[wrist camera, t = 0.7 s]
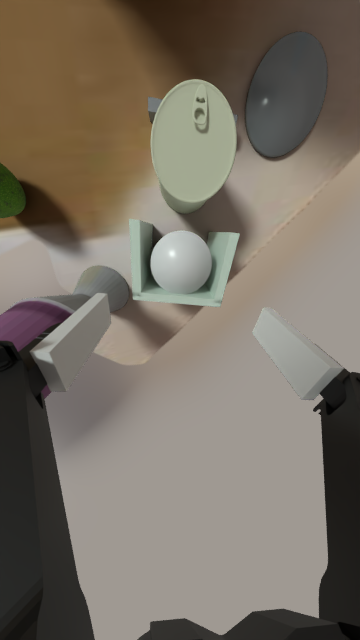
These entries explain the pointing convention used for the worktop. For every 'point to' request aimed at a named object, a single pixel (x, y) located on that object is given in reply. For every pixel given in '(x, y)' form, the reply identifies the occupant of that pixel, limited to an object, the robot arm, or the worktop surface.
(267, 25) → the worktop surface
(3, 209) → the fruit
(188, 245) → the dispenser
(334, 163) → the worktop surface
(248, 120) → the coaster
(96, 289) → the lamp
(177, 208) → the can
